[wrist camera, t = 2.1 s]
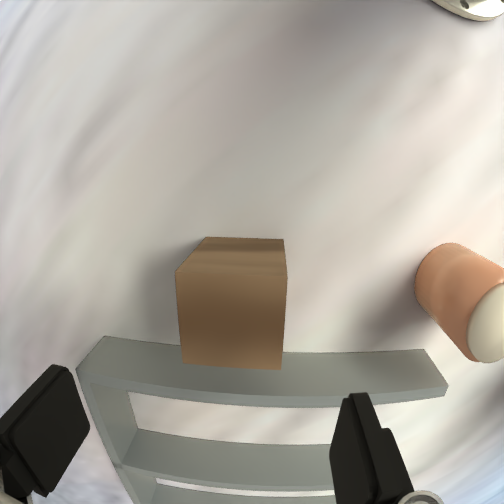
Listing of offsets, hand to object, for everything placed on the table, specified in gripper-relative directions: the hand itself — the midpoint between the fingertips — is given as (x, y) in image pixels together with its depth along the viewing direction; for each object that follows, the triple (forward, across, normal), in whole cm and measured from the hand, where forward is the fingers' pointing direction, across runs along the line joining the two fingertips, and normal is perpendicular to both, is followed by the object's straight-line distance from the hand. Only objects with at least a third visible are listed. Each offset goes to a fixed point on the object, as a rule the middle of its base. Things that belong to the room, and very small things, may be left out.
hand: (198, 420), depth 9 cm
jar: (+12, -16, -1) cm, 20 cm away
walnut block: (+13, 0, -1) cm, 13 cm away
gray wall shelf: (+13, -2, +17) cm, 21 cm away
